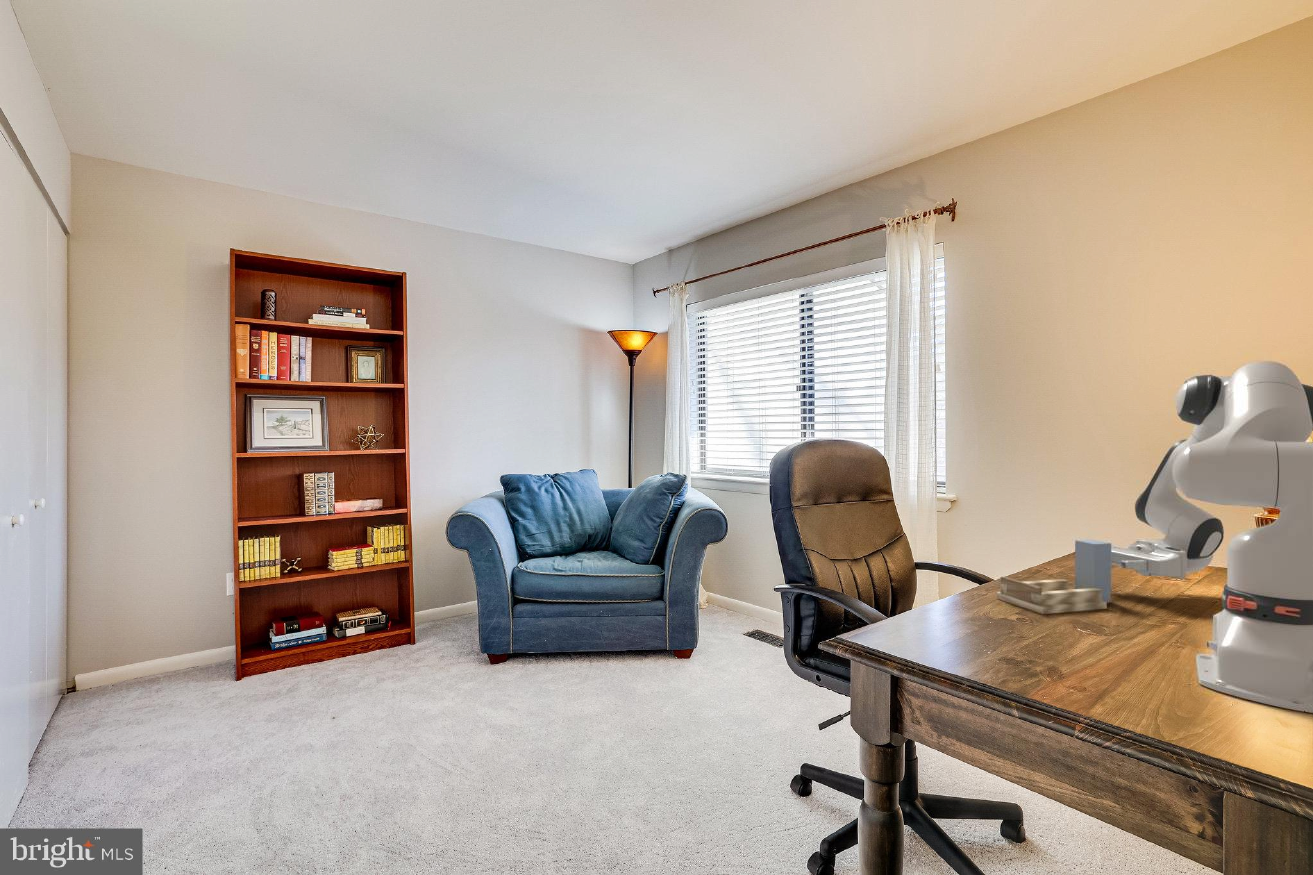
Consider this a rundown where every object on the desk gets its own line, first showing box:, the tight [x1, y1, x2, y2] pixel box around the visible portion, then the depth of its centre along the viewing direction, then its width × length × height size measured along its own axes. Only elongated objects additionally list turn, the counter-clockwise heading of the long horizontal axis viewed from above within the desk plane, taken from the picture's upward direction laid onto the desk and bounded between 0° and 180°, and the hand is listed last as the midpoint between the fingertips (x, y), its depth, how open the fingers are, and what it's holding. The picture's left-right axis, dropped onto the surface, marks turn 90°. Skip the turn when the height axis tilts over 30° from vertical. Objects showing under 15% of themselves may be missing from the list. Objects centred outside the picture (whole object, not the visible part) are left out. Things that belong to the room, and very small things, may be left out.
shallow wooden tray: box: [995, 576, 1108, 615], centre depth 145 cm, size 18×13×6 cm
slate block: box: [1074, 539, 1112, 604], centre depth 148 cm, size 5×5×14 cm
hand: (1105, 560), depth 150 cm, fingers open, 8 cm apart
